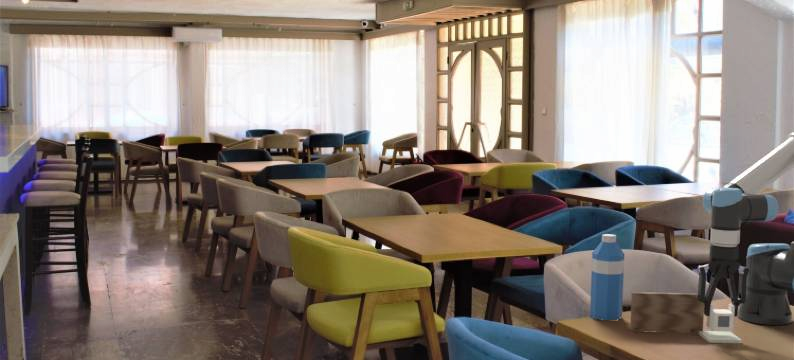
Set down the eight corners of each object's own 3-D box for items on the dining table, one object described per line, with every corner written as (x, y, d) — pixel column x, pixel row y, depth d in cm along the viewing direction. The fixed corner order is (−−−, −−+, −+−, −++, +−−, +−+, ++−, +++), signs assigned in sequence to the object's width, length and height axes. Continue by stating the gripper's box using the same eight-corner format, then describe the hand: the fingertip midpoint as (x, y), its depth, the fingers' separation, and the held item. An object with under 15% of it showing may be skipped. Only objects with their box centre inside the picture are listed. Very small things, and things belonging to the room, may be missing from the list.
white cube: (725, 326, 244) (726, 309, 244) (732, 331, 239) (733, 313, 239) (707, 326, 244) (708, 308, 244) (714, 331, 239) (714, 313, 239)
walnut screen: (699, 330, 250) (701, 292, 249) (704, 334, 246) (706, 295, 245) (629, 328, 251) (630, 291, 250) (632, 332, 247) (634, 294, 246)
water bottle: (622, 322, 258) (626, 238, 256) (590, 319, 260) (593, 236, 258) (621, 314, 267) (624, 233, 265) (589, 312, 269) (592, 232, 267)
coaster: (730, 334, 246) (730, 331, 246) (741, 343, 237) (742, 340, 237) (698, 333, 247) (698, 330, 247) (708, 342, 238) (708, 339, 238)
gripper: (752, 242, 243) (747, 325, 245) (687, 241, 244) (683, 323, 246) (763, 247, 236) (758, 332, 238) (695, 245, 236) (691, 330, 238)
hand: (719, 327), depth 242 cm, fingers closed on white cube, 5 cm apart
